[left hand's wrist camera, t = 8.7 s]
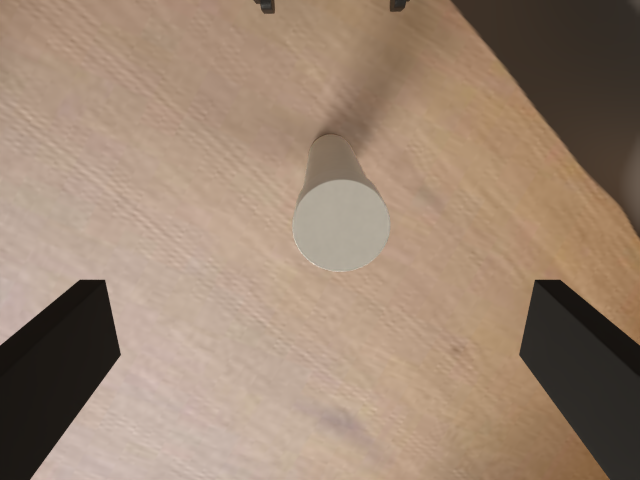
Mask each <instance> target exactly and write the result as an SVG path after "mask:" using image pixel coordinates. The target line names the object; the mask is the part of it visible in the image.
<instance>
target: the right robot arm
mask: <svg viewBox="0 0 640 480" xmlns="http://www.w3.org/2000/svg"><path fill="white" fill-rule="evenodd" d="M254 1H255V3H256V4H261V10H262V11H263V13H264V14H274V13H275V3H274V0H254ZM406 1H410V0H390V12H401V11H402V10H403V9H404V8H405V4H406Z"/></svg>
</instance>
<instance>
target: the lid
mask: <svg viewBox="0 0 640 480" xmlns="http://www.w3.org/2000/svg"><path fill="white" fill-rule="evenodd" d="M292 230H293V236H294V240H295V243H296V245H297V247H298V249H299V250H300V252H301V253H302V254H303V255H304V257H305V258H306V259H308V260H309V261H310V262H311V263H313V264H314V265H316V266H318V267H320V268H322V269H325V270H329V271H335V272H346V271H352V270H356V269H359V268H361V267H363V266H365V265H367V264H369V263H370V262H371V261H373V260H374V259H375V258H376V257H377V256H378V255H379V254H380V252H381V251H382V250H383V248H384V247H385V245H386V242H387V240H388V237H389V233H390V216H389V212H388V209H387V207H386V205H385V203H384V201H383V199H382V197H381V195H380V194H379V192H378V190H377V188H376V187H375V186H374V184H373V183H372V182H371V181H370V180H369V179H367V178H366V177H365V176H363V175H361V174H360V173H357V172H355V171H351V170H347V169H333V170H328V171H325V172H322V173H320V174H318V175H316V176H315V177H313V178H312V179H311V180H310V181H308V182H307V184H306V185H305V186H304V187H303V189H302V190H301V192H300V194H299V196H298V198H297V202H296V206H295V211H294V216H293V223H292Z"/></svg>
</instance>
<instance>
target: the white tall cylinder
mask: <svg viewBox="0 0 640 480" xmlns="http://www.w3.org/2000/svg"><path fill="white" fill-rule="evenodd" d="M333 169H347V170H351V171H355V172H357V173H360V174H361V175H363V176H365V177H366V175H365V173H364V171H363V169H362V167H361V165H360V163H359V161H358V159H357V157H356V155H355V153H354V151H353V149H352V147H351V145H350V144H349V143H348V141H347V140H346V139H344V138H343V137H341V136H339V135H335V134H328V135H324V136H321V137H319V138H318V139H317V140H316V141H315V142H314V143H313V144H312V146H311V148H310V150H309V155H308V161H307V167H306V173H305V179H304V185H303V187H304V186H305V185H306V184H307V182H308V181H310V180H311V179H312V178H313V177H315V176H316V175H318V174H320V173H322V172H325V171H328V170H333ZM366 178H367V177H366Z"/></svg>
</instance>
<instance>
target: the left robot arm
mask: <svg viewBox="0 0 640 480" xmlns="http://www.w3.org/2000/svg"><path fill="white" fill-rule="evenodd" d="M120 355H121V354H120V349H119V344H118V339H117V335H116V330H115V325H114V320H113V316H112V311H111V306H110V301H109V297H108V292H107V287H106V282H105V280H79V281H78V282H77V283H75V284H74V285H73V286H72V287H71V288H69V289H68V290H67V291H66V292H65V293H63V294H62V295H61V296H60V297H58V298H57V299H56V300H55V301H54V302H52V303H51V304H50V305H49V306H48V307H46V308H45V309H44V310H43V311H42V312H40V313H39V314H38V315H37V316H35V317H34V318H33V319H32V320H31V321H29V322H28V323H27V324H26V325H25V326H23V327H22V328H21V329H20V330H19V331H17V332H16V333H15V334H14V335H12V336H11V337H10V338H9V339H8V340H6V341H5V342H4V343H3V344H2V345H0V480H30V479H31V478H32V476H33V475H34V473H35V472H36V471H37V469H38V468H39V467H40V465H41V464H42V462H43V461H44V460H45V458H46V457H47V456H48V454H49V453H50V451H51V450H52V449H53V447H54V446H55V445H56V443H57V442H58V440H59V439H60V438H61V436H62V435H63V434H64V432H65V431H66V429H67V428H68V427H69V425H70V424H71V423H72V421H73V420H74V419H75V417H76V416H77V414H78V413H79V412H80V410H81V409H82V408H83V406H84V405H85V403H86V402H87V401H88V399H89V398H90V397H91V395H92V394H93V392H94V391H95V390H96V388H97V387H98V386H99V384H100V383H101V381H102V380H103V379H104V377H105V376H106V375H107V373H108V372H109V370H110V369H111V368H112V366H113V365H114V364H115V362H116V361H117V359H118V358H119V357H120ZM519 355H520V357H521V358H522V359H523V361H524V362H525V364H526V365H527V366H528V368H529V369H530V370H531V372H532V373H533V375H534V376H535V377H536V379H537V380H538V381H539V383H540V384H541V386H542V387H543V388H544V390H545V391H546V392H547V394H548V395H549V397H550V398H551V399H552V401H553V402H554V403H555V405H556V406H557V408H558V409H559V410H560V412H561V413H562V414H563V416H564V417H565V419H566V420H567V421H568V423H569V424H570V425H571V427H572V428H573V429H574V431H575V432H576V434H577V435H578V436H579V438H580V439H581V440H582V442H583V443H584V445H585V446H586V447H587V449H588V450H589V451H590V453H591V454H592V456H593V457H594V458H595V460H596V461H597V462H598V464H599V465H600V467H601V468H602V469H603V471H604V472H605V473H606V475H607V476H608V478H609V479H610V480H640V345H638V344H637V343H636V342H635V341H634V340H632V339H631V338H630V337H629V336H628V335H626V334H625V333H624V332H623V331H621V330H620V329H619V328H618V327H617V326H615V325H614V324H613V323H612V322H611V321H609V320H608V319H607V318H606V317H605V316H603V315H602V314H601V313H600V312H598V311H597V310H596V309H595V308H594V307H592V306H591V305H590V304H589V303H588V302H586V301H585V300H584V299H583V298H582V297H580V296H579V295H578V294H577V293H575V292H574V291H573V290H572V289H571V288H569V287H568V286H567V285H566V284H565V283H563V282H562V281H561V280H535V282H534V287H533V292H532V297H531V301H530V306H529V311H528V316H527V320H526V325H525V330H524V335H523V339H522V344H521V349H520V354H519Z"/></svg>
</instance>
